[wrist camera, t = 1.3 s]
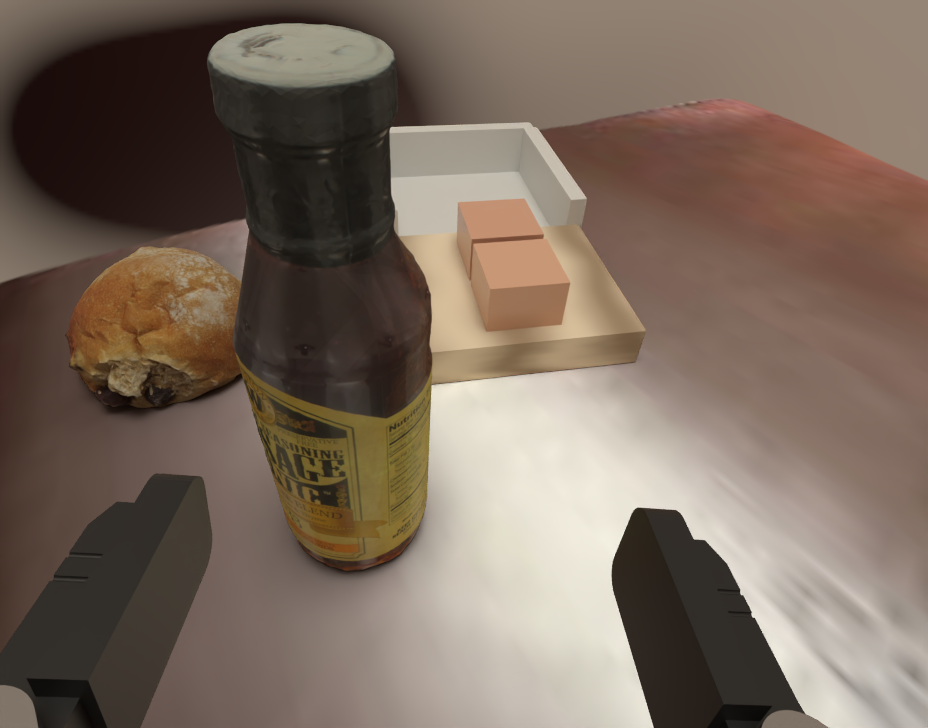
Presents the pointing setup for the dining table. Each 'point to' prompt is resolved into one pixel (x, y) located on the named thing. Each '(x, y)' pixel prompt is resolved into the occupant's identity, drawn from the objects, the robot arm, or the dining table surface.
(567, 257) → the board
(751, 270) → the dining table surface
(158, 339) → the bread roll
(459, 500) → the dining table surface
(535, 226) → the tile
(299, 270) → the sauce bottle
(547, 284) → the tan block
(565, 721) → the dining table surface
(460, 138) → the box
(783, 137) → the dining table surface
